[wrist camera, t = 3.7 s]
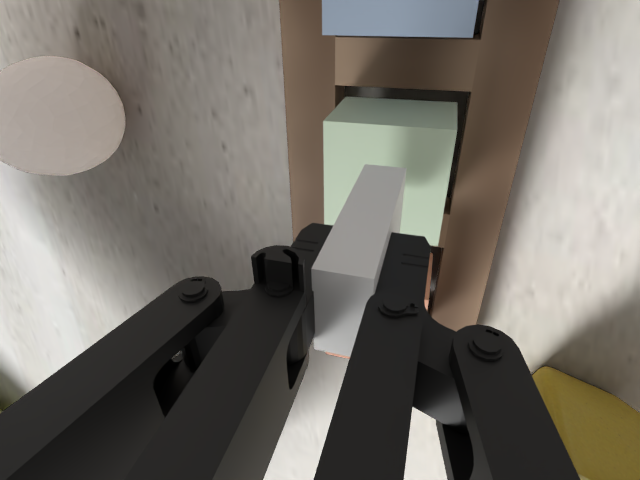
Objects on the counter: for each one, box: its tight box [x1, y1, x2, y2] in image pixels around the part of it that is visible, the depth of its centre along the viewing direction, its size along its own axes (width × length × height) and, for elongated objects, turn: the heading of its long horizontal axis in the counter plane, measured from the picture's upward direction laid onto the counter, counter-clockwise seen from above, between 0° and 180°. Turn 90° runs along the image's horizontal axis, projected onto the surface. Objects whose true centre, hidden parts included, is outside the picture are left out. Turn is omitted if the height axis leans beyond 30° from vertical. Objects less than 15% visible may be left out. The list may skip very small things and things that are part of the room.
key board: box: [279, 0, 559, 332], centre depth 21 cm, size 11×26×2 cm, turn 1°
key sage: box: [323, 96, 457, 246], centre depth 18 cm, size 5×5×4 cm
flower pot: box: [532, 367, 640, 480], centre depth 24 cm, size 9×9×9 cm
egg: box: [0, 56, 126, 176], centre depth 22 cm, size 6×6×8 cm
